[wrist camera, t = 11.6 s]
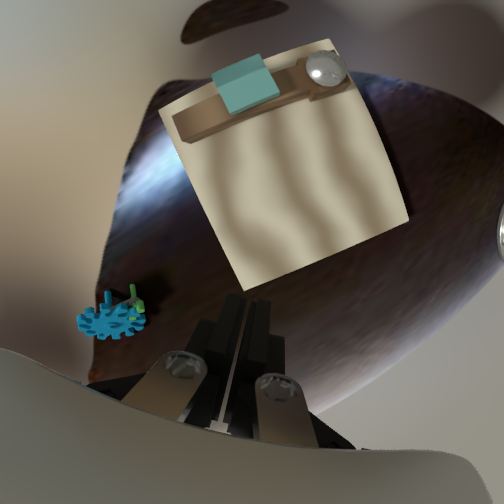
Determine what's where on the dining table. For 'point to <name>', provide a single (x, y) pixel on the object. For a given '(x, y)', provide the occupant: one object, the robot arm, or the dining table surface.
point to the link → (218, 117)
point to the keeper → (245, 84)
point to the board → (291, 178)
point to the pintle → (326, 68)
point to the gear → (113, 317)
